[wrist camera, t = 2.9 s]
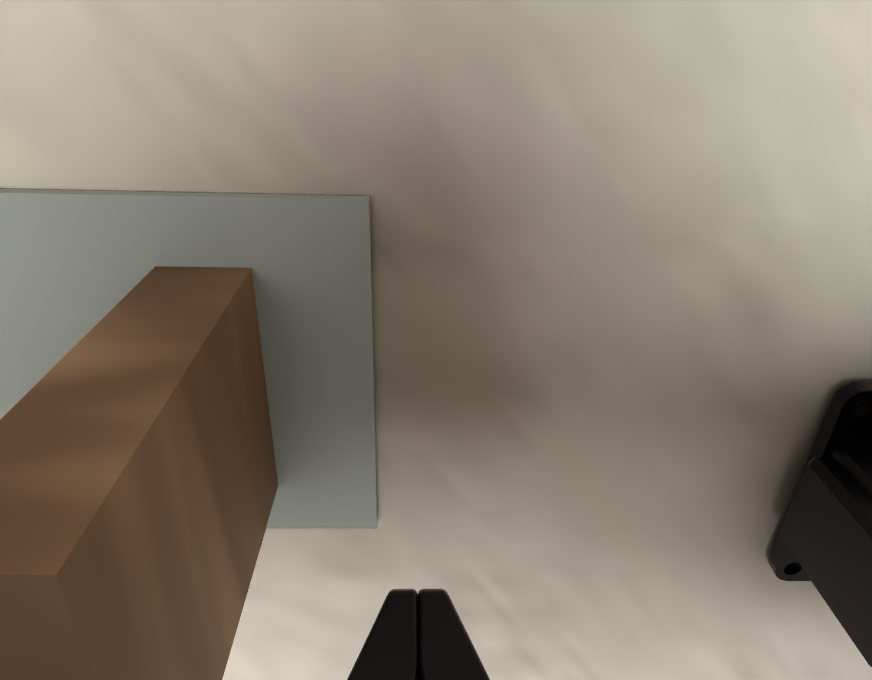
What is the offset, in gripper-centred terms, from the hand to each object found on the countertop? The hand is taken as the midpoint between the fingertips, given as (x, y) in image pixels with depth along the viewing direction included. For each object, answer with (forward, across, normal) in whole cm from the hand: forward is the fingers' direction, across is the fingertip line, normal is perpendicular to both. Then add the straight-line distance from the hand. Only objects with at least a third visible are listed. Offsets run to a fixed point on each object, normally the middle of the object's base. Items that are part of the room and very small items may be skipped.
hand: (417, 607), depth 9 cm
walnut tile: (+6, +4, 0) cm, 8 cm away
